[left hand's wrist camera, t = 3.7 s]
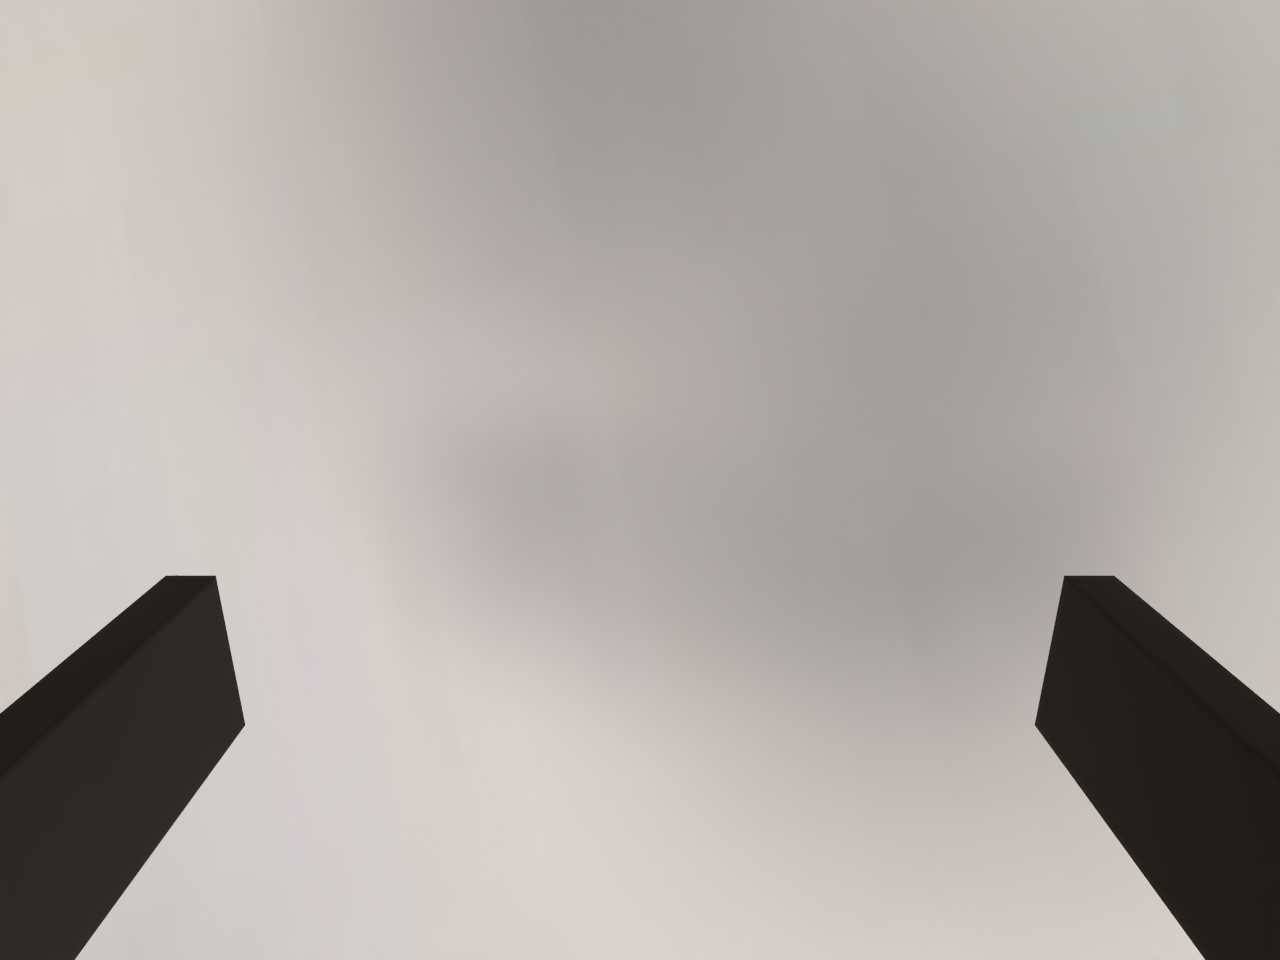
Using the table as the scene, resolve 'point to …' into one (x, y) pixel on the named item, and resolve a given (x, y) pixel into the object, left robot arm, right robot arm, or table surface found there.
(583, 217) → the table surface
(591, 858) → the table surface
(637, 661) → the table surface
